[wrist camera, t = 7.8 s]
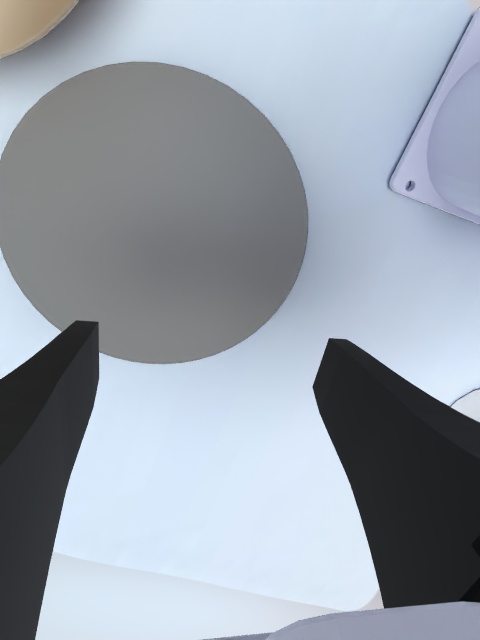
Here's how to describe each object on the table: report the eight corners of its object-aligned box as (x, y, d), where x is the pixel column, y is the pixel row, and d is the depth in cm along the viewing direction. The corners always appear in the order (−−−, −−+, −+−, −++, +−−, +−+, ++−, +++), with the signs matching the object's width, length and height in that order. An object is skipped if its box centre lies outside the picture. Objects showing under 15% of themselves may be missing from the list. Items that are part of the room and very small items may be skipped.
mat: (356, 139, 18) (359, 140, 18) (248, 379, 25) (249, 383, 25) (8, -9, 14) (4, -11, 14) (-11, 330, 21) (-14, 334, 20)
